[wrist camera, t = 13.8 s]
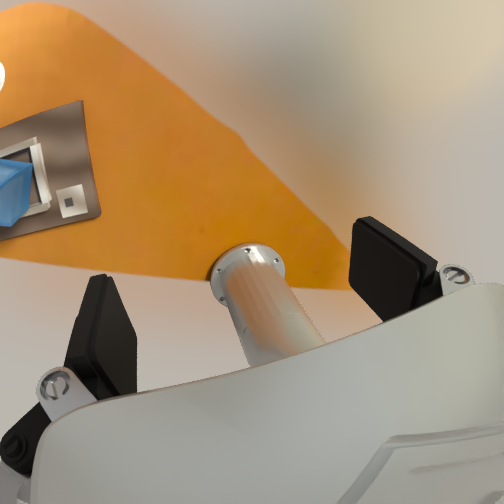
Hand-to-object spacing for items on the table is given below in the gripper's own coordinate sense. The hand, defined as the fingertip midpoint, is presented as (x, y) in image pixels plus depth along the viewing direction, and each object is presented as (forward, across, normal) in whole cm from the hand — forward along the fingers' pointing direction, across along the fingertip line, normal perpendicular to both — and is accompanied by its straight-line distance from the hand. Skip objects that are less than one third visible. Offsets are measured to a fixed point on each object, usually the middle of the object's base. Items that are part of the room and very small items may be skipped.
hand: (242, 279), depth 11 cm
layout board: (+31, +22, -3) cm, 38 cm away
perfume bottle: (+28, +24, -3) cm, 37 cm away
